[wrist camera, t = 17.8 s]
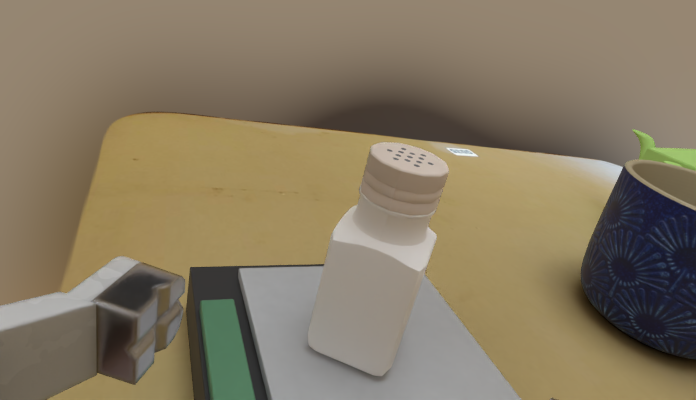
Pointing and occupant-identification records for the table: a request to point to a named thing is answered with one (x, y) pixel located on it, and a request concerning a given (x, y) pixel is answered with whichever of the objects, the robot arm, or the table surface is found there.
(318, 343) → the pepper shaker
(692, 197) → the planter
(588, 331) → the table surface
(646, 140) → the kettle
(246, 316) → the scale
